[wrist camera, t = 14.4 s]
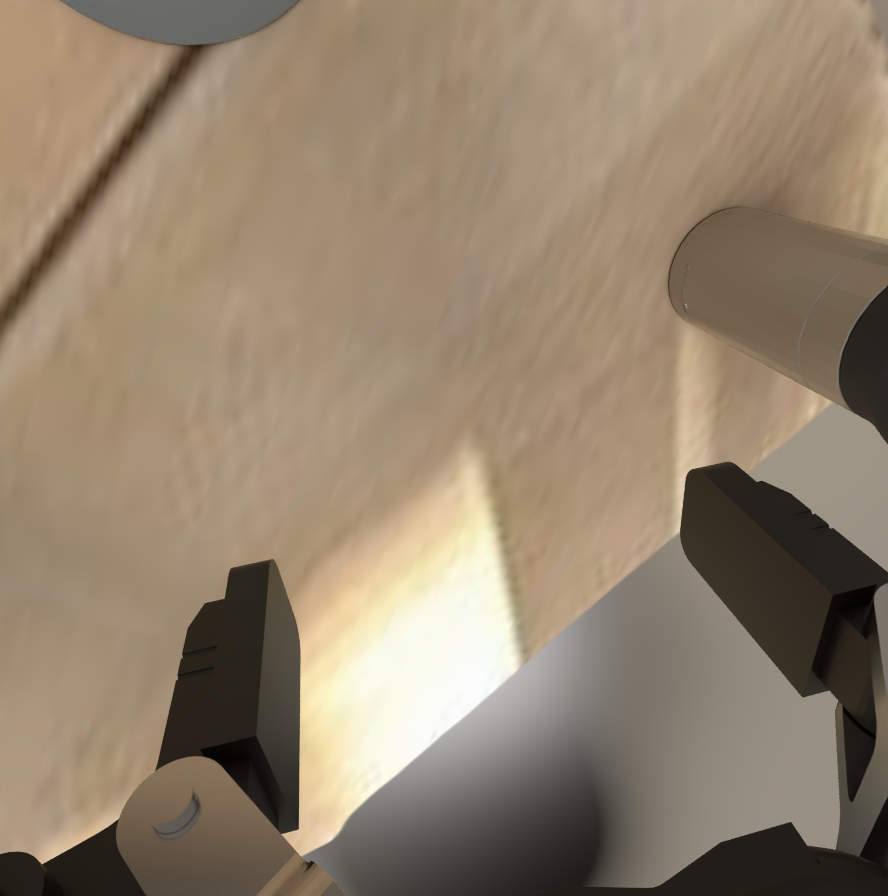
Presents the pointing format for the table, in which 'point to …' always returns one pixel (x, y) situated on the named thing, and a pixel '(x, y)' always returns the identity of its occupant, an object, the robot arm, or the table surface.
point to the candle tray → (184, 18)
